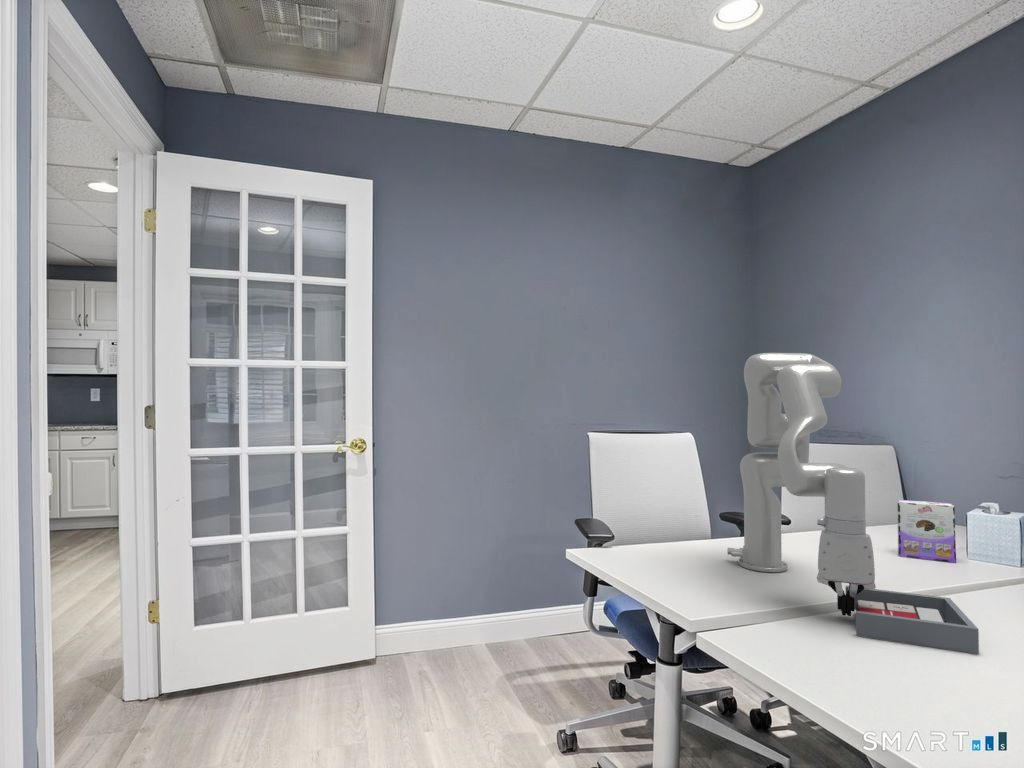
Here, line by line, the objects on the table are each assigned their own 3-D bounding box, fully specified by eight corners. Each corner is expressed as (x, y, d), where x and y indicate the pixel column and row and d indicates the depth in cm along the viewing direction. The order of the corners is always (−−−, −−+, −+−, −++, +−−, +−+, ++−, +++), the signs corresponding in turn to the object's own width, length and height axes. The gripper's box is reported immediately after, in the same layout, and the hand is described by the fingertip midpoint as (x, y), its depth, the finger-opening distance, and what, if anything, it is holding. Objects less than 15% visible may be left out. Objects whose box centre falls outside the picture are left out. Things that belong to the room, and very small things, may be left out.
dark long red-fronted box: (854, 597, 125) (940, 606, 118) (856, 618, 125) (941, 628, 117) (856, 613, 115) (948, 624, 108) (857, 635, 115) (950, 647, 108)
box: (856, 635, 112) (856, 612, 113) (845, 605, 129) (845, 585, 129) (978, 654, 104) (978, 629, 105) (950, 619, 121) (949, 598, 121)
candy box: (954, 559, 169) (953, 502, 169) (956, 563, 164) (955, 505, 164) (897, 552, 176) (896, 498, 177) (898, 556, 171) (897, 501, 172)
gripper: (806, 526, 121) (807, 614, 121) (889, 533, 115) (891, 626, 115) (804, 519, 128) (805, 602, 128) (883, 526, 122) (884, 613, 121)
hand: (845, 613), depth 121 cm, fingers closed
